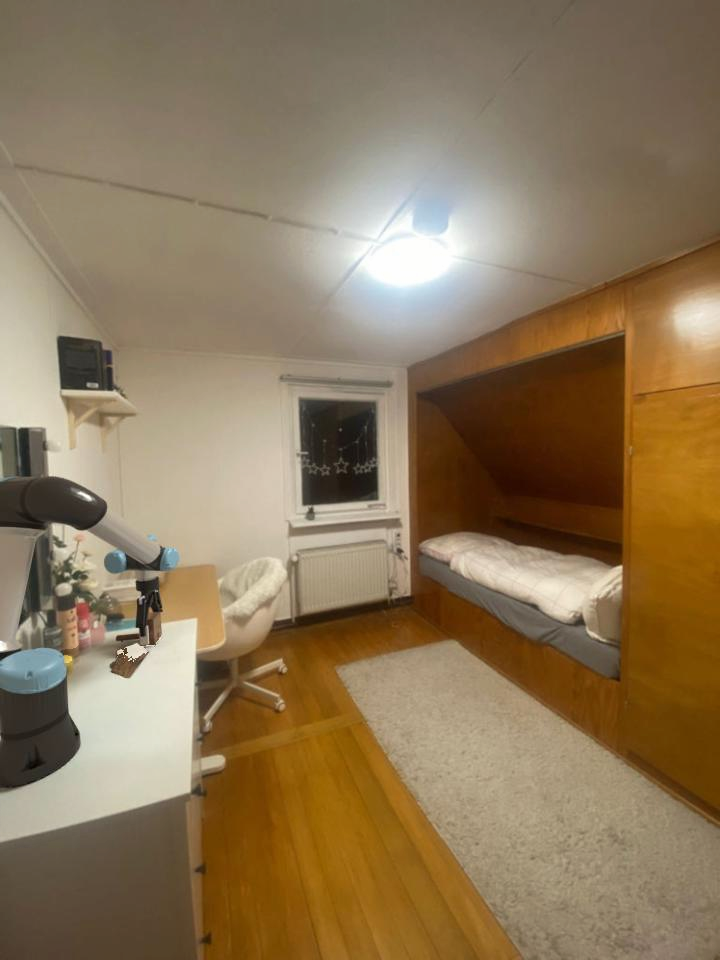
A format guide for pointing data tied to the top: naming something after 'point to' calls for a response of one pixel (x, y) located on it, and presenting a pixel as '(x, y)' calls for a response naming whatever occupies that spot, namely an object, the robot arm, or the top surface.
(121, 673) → the wooden fragment
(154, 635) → the marking gauge
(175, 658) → the top surface
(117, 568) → the robot arm
